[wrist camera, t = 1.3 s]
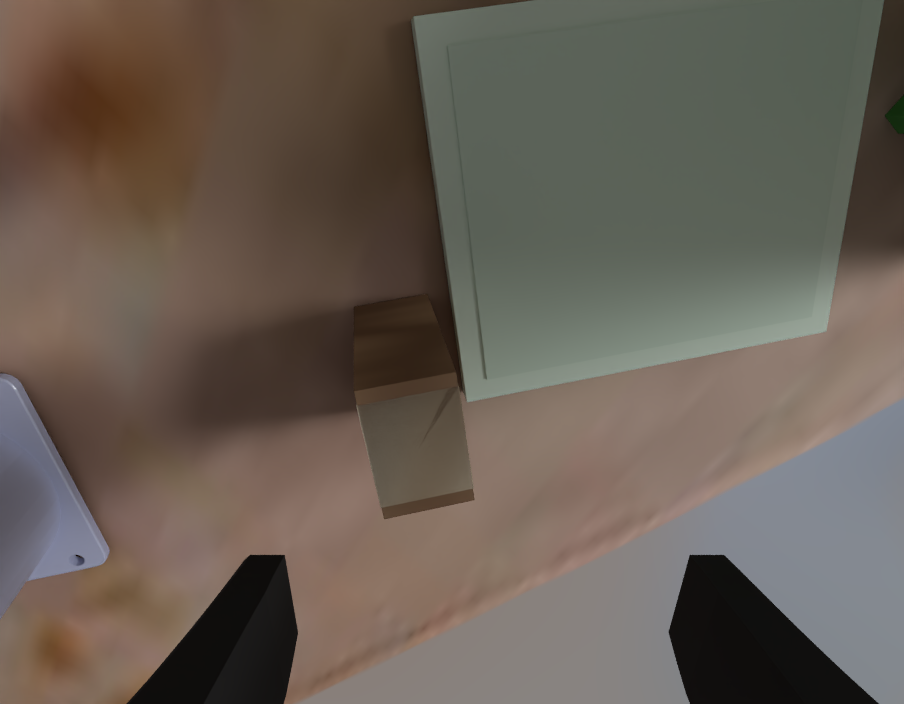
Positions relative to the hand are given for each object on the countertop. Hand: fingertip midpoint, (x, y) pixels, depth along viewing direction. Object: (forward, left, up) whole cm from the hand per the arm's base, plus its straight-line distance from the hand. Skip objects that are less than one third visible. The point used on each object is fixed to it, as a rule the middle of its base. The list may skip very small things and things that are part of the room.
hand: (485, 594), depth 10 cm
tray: (+8, +4, -11) cm, 14 cm away
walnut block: (-1, 0, -11) cm, 11 cm away
